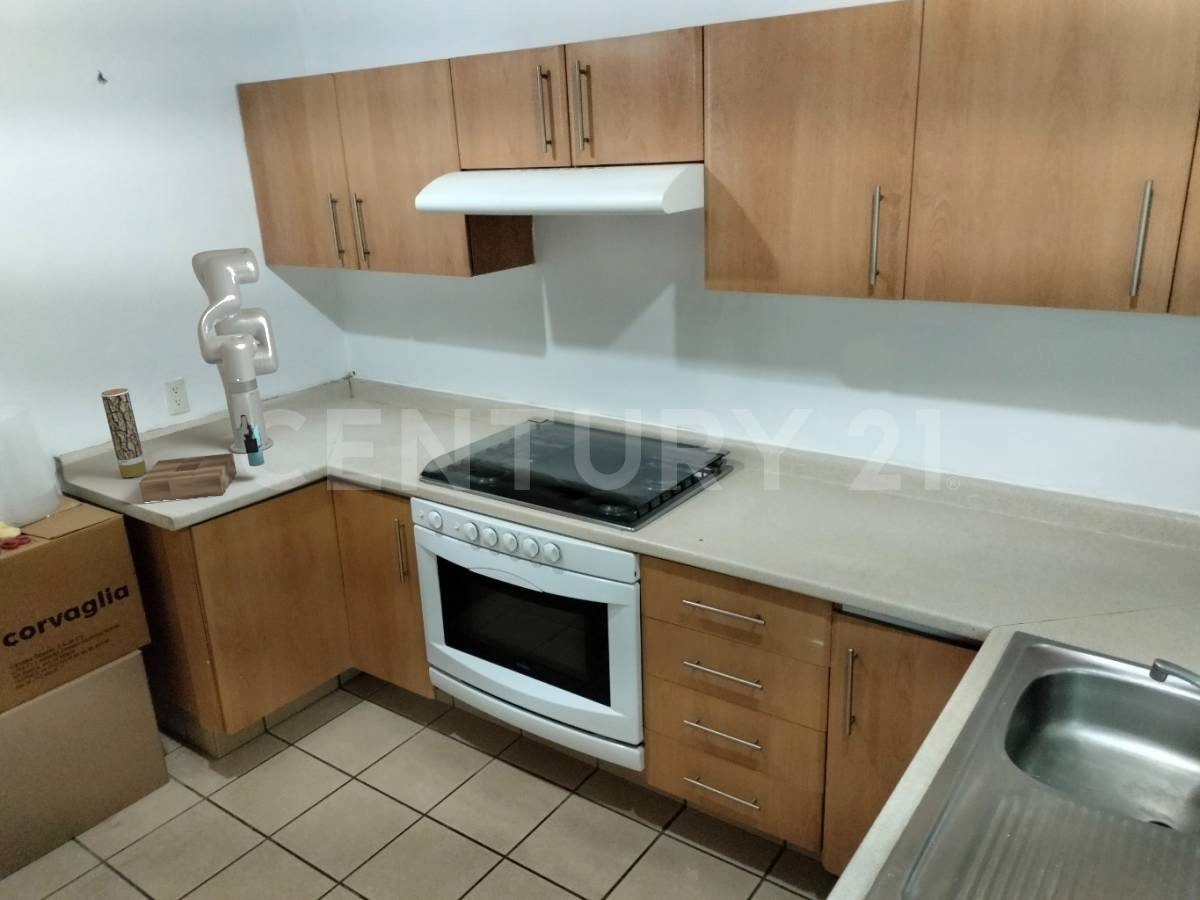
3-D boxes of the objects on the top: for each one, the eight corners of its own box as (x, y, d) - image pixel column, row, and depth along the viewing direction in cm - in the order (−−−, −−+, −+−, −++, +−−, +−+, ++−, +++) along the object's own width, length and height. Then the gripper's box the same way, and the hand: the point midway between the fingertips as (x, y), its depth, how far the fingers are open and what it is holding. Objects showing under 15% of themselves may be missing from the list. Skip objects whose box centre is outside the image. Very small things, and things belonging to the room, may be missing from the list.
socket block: (163, 480, 255) (158, 460, 253) (236, 472, 258) (232, 453, 256) (143, 503, 238) (139, 482, 236) (223, 495, 241) (218, 474, 239)
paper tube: (136, 479, 257) (116, 394, 249) (115, 478, 259) (95, 394, 251) (152, 471, 264) (133, 388, 256) (132, 470, 265) (112, 388, 257)
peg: (250, 461, 252) (242, 421, 248) (265, 460, 252) (258, 419, 248) (247, 467, 248) (239, 425, 244) (263, 465, 249) (255, 424, 244)
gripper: (233, 378, 249) (245, 440, 256) (221, 396, 234) (234, 461, 240) (262, 376, 251) (273, 438, 257) (251, 393, 235) (263, 458, 242)
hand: (254, 448), depth 249 cm, fingers closed on peg, 4 cm apart
